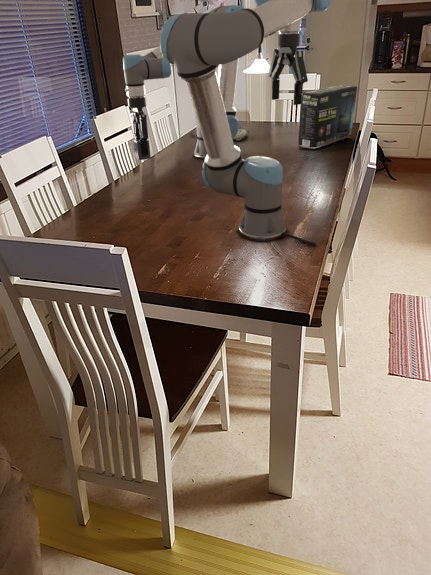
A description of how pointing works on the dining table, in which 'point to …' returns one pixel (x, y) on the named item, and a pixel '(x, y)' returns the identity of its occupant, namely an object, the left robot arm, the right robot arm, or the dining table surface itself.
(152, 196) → the dining table surface
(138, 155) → the block
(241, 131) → the fossil
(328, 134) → the router box
